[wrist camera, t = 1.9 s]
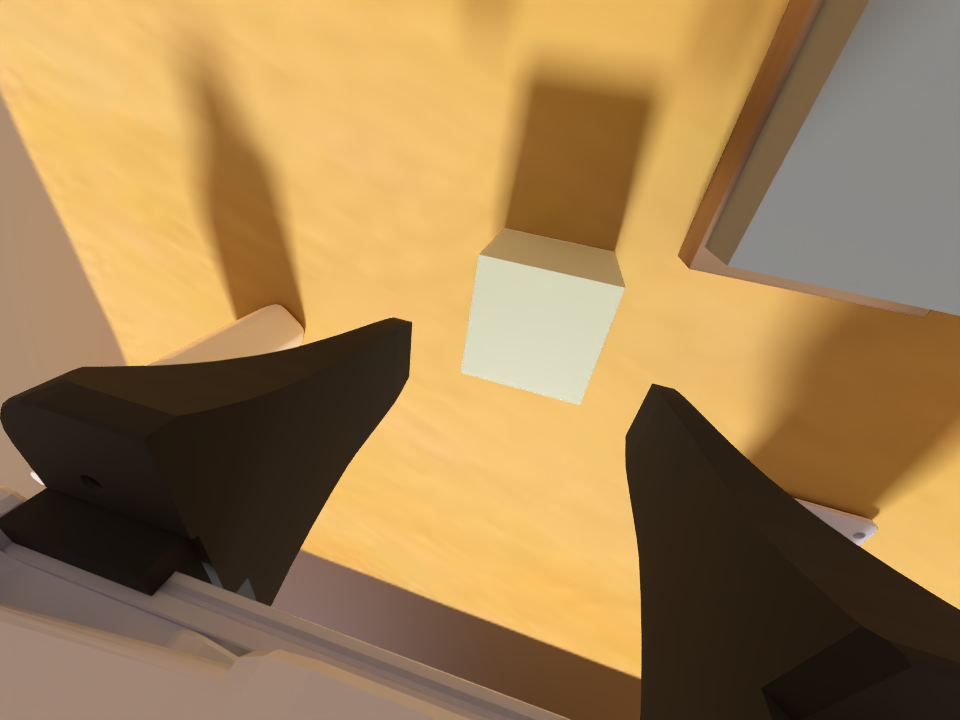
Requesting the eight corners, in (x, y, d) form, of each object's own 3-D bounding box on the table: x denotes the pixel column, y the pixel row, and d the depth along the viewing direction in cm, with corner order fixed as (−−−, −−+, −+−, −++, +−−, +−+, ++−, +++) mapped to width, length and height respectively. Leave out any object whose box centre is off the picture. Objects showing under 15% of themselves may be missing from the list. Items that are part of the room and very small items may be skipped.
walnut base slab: (875, 293, 15) (923, 317, 13) (675, 252, 16) (689, 268, 14) (1073, 39, 11) (1194, 12, 9) (782, 5, 12) (826, -26, 10)
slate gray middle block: (915, 291, 12) (982, 320, 10) (704, 247, 13) (727, 265, 11) (1146, 20, 9) (1323, -19, 7) (832, -17, 10) (902, -62, 8)
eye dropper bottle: (224, 307, 23) (-52, 430, 13) (295, 300, 21) (43, 435, 11) (255, 366, 25) (37, 511, 15) (322, 364, 24) (128, 526, 13)
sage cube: (580, 347, 19) (579, 405, 15) (487, 323, 19) (460, 372, 15) (614, 251, 16) (625, 287, 12) (505, 227, 17) (478, 254, 12)
